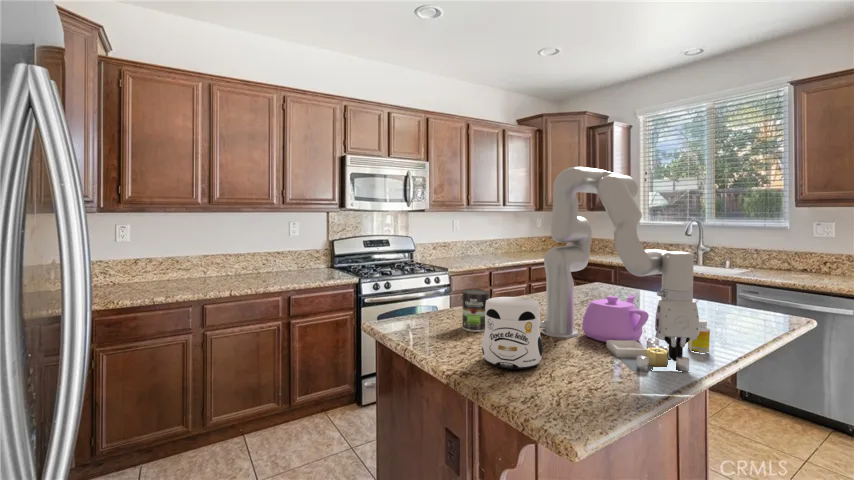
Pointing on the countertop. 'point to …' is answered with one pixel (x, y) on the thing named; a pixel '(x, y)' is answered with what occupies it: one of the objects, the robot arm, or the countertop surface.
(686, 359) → the spacers
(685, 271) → the robot arm
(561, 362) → the countertop surface
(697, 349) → the supplement bottle
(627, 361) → the mat
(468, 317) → the coffee can
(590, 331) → the teapot
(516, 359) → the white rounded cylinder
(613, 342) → the dish
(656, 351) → the nut
